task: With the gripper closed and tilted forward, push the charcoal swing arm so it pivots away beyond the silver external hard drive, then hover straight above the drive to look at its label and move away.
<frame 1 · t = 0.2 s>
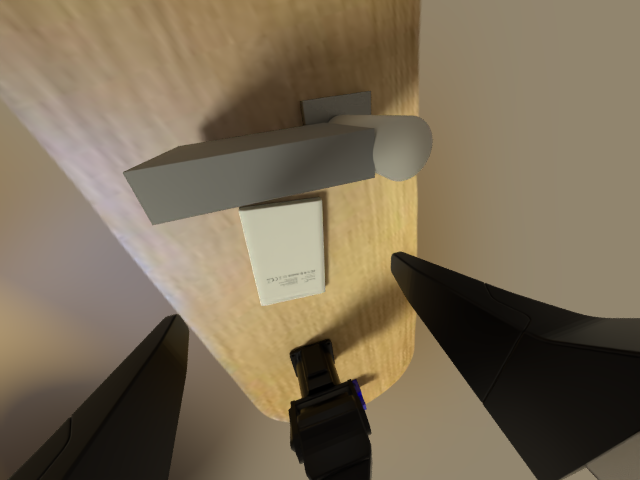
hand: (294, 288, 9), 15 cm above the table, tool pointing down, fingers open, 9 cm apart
cable holder: (337, 389, 44), on the table
external hard drive: (286, 250, 27), on the table
swing arm: (285, 155, 15), point 6 cm above the table, hinge at 0.0°
arm mount: (336, 134, 21), on the table
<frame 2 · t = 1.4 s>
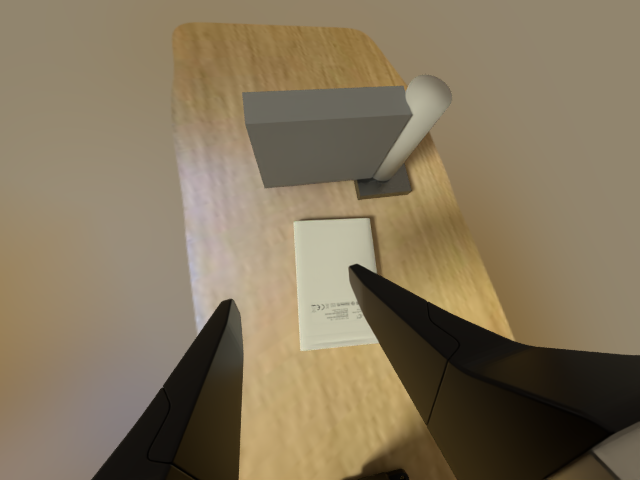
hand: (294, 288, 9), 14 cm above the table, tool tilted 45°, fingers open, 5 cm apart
external hard drive: (335, 280, 24), on the table
swing arm: (339, 143, 20), point 6 cm above the table, hinge at 0.0°
arm mount: (377, 173, 27), on the table
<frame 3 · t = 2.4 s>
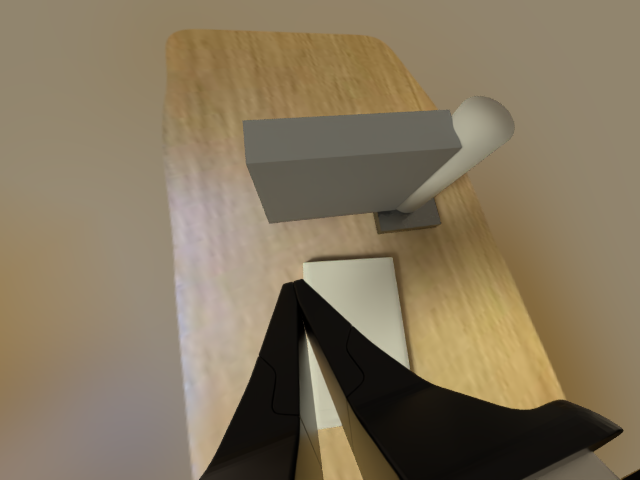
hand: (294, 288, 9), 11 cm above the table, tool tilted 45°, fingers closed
external hard drive: (352, 331, 20), on the table
swing arm: (362, 175, 16), point 6 cm above the table, hinge at 0.0°
arm mount: (399, 202, 23), on the table
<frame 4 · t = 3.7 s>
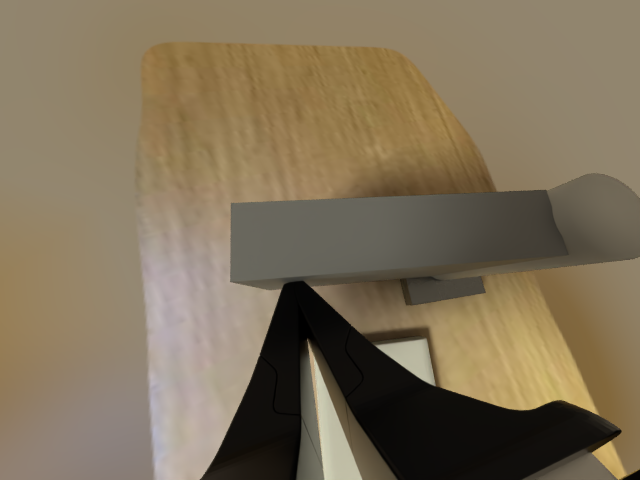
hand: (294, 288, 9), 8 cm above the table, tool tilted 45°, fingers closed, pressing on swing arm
external hard drive: (377, 434, 16), on the table
swing arm: (396, 252, 12), point 6 cm above the table, hinge at -3.8°, touching gripper
arm mount: (431, 261, 19), on the table
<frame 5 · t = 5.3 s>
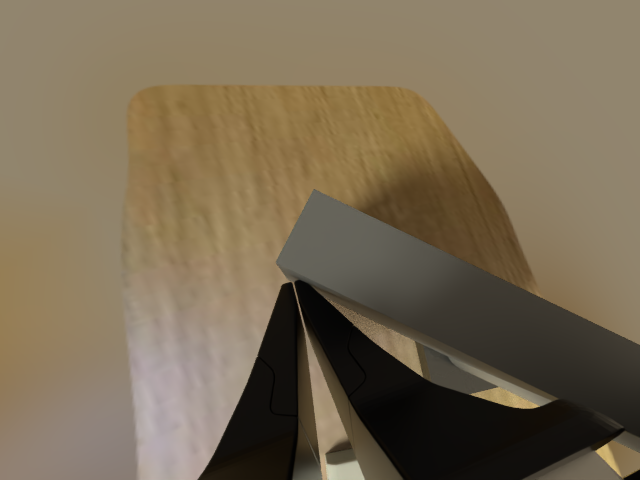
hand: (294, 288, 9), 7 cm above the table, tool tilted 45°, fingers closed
swing arm: (433, 316, 11), point 6 cm above the table, hinge at -34.0°, touching gripper
arm mount: (454, 341, 17), on the table
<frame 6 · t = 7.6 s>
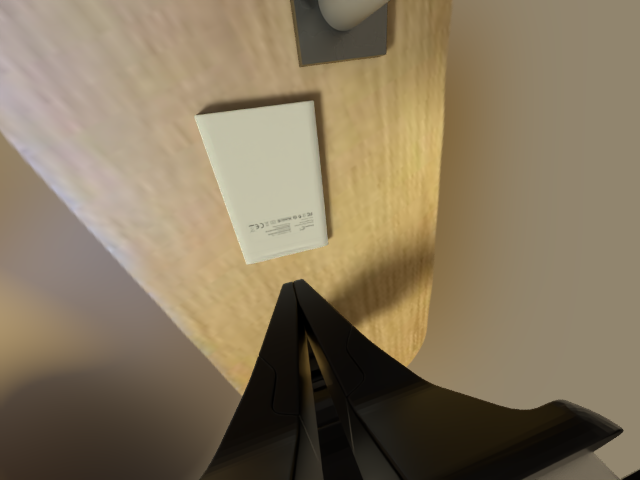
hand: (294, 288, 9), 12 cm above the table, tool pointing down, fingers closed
external hard drive: (273, 188, 20), on the table
arm mount: (336, 2, 15), on the table
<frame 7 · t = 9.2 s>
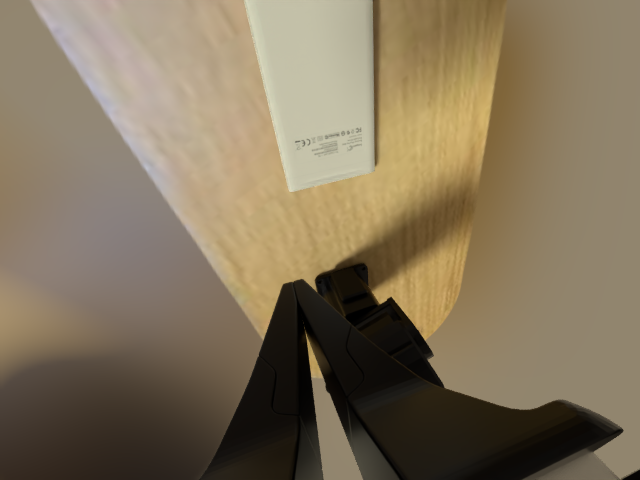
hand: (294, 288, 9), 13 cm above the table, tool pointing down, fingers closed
external hard drive: (318, 101, 18), on the table
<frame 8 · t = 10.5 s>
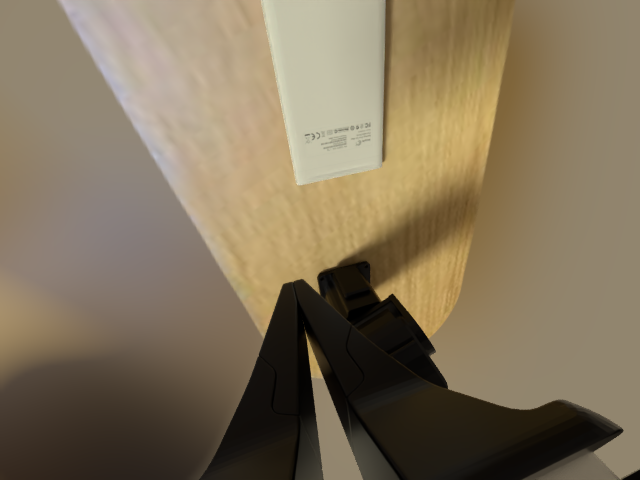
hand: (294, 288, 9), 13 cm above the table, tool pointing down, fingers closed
external hard drive: (328, 96, 18), on the table
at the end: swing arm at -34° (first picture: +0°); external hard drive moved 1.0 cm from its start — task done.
